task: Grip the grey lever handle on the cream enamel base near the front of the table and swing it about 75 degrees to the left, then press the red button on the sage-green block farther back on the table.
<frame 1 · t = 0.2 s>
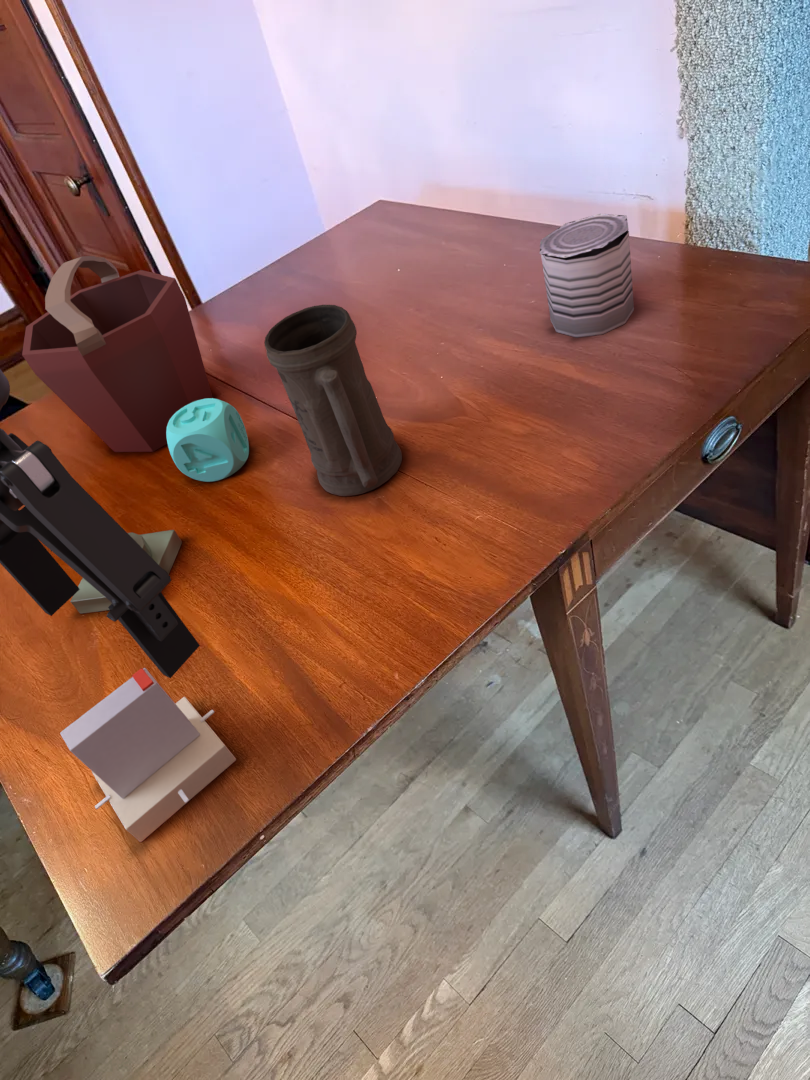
hand: (118, 628, 51), 21 cm above the table, tool pointing down, fingers open, 13 cm apart
button block: (132, 577, 89), on the table
tap base: (170, 772, 67), on the table
bucket: (157, 422, 115), on the table
button: (113, 550, 86), point 4 cm above the table, slide at 0.1 cm
beer stein: (369, 478, 90), on the table
decorative dice: (222, 464, 101), on the table
grey lever handle: (132, 732, 62), point 7 cm above the table, hinge at 0.0°
can: (591, 316, 103), on the table
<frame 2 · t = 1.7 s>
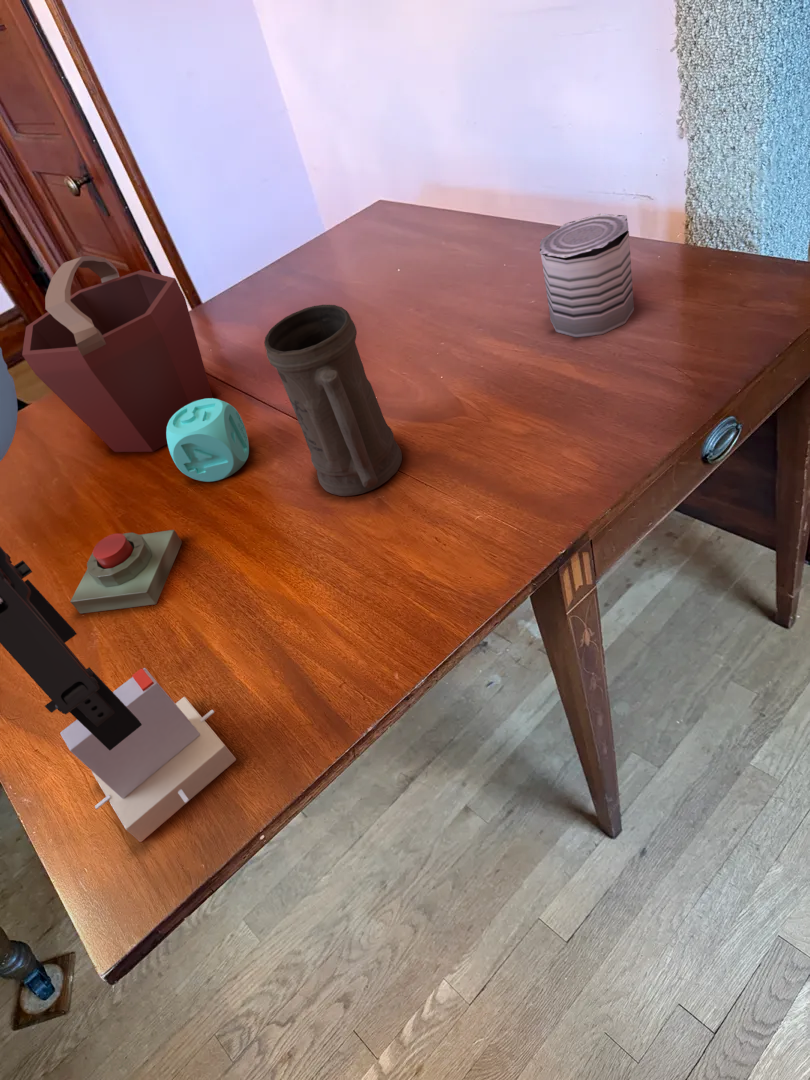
hand: (90, 685, 58), 13 cm above the table, tool pointing down, fingers open, 13 cm apart
nothing on the table moved.
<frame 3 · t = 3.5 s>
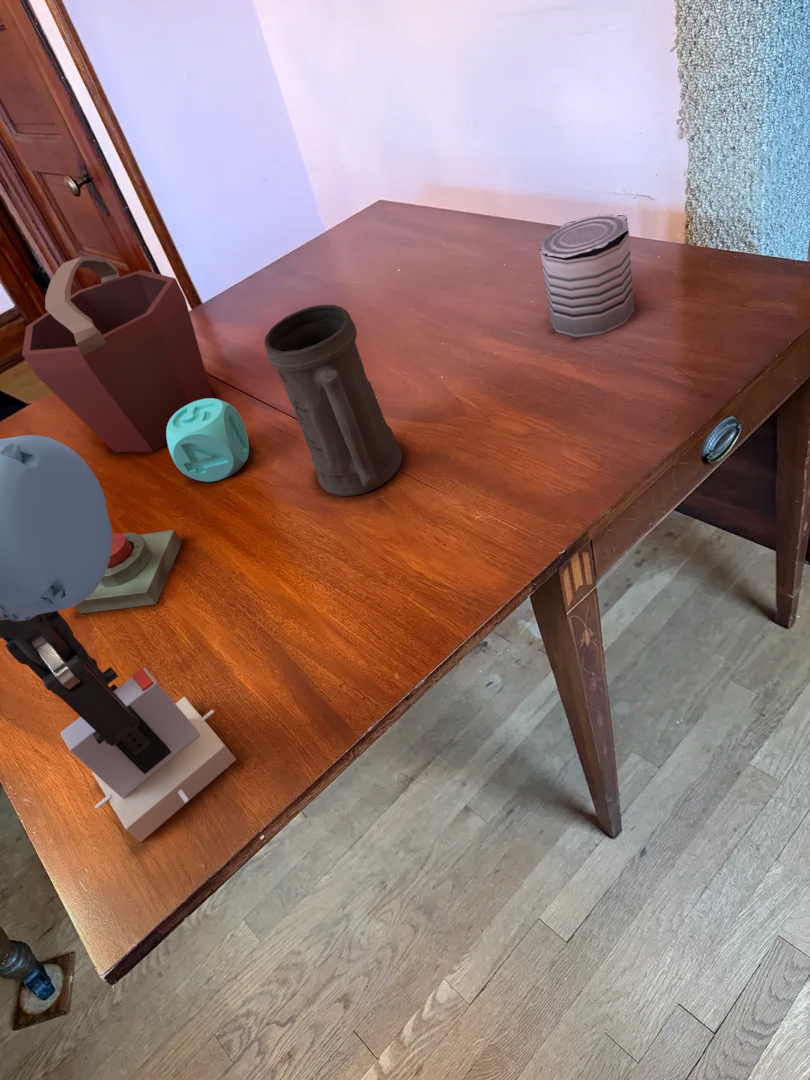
hand: (148, 749, 64), 4 cm above the table, tool pointing down, fingers closed on grey lever handle, 2 cm apart
grey lever handle: (132, 732, 62), point 7 cm above the table, hinge at 0.0°, touching gripper
everything else where it was.
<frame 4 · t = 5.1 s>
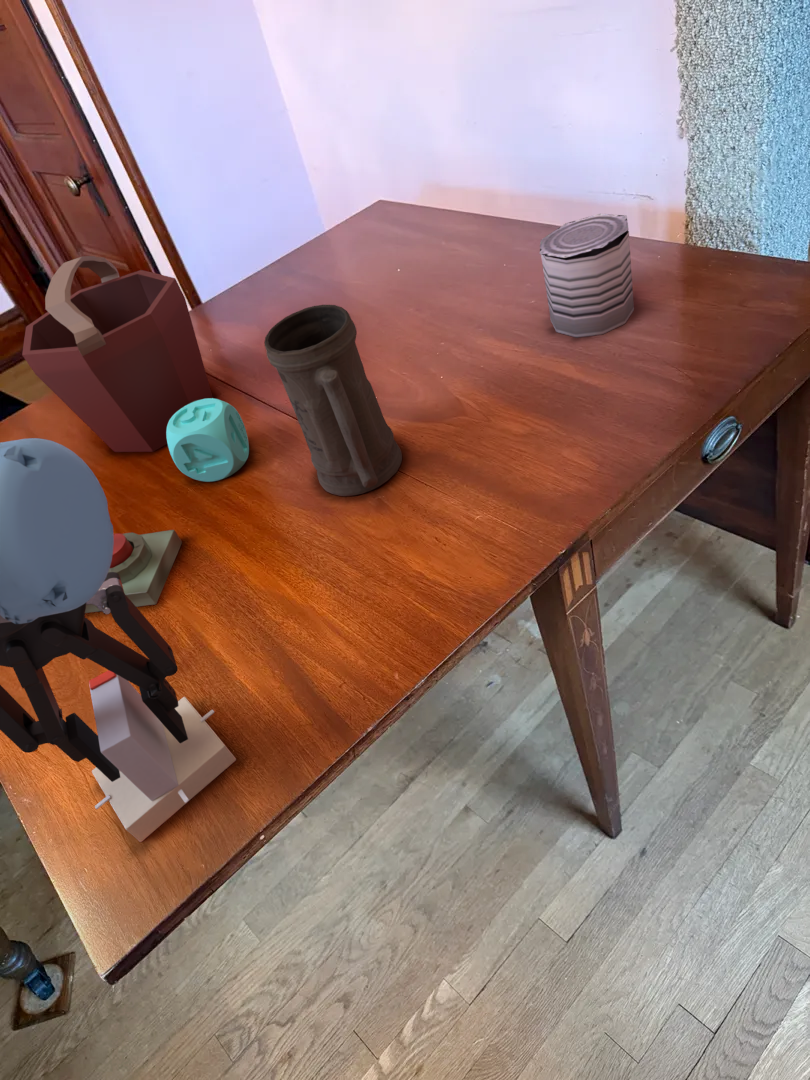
hand: (147, 748, 64), 4 cm above the table, tool pointing down, fingers open, 5 cm apart
grey lever handle: (132, 732, 62), point 7 cm above the table, hinge at 75.0°
everything else where it was.
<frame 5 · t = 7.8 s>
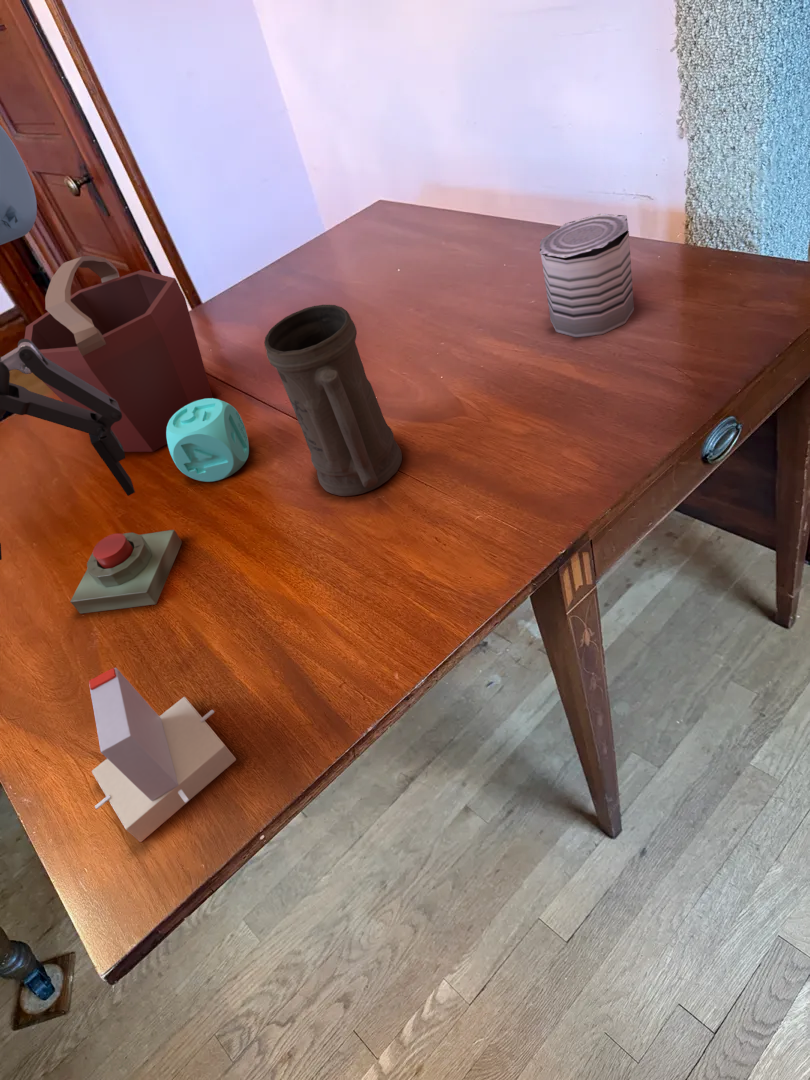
hand: (64, 520, 72), 16 cm above the table, tool pointing down, fingers open, 13 cm apart
nothing on the table moved.
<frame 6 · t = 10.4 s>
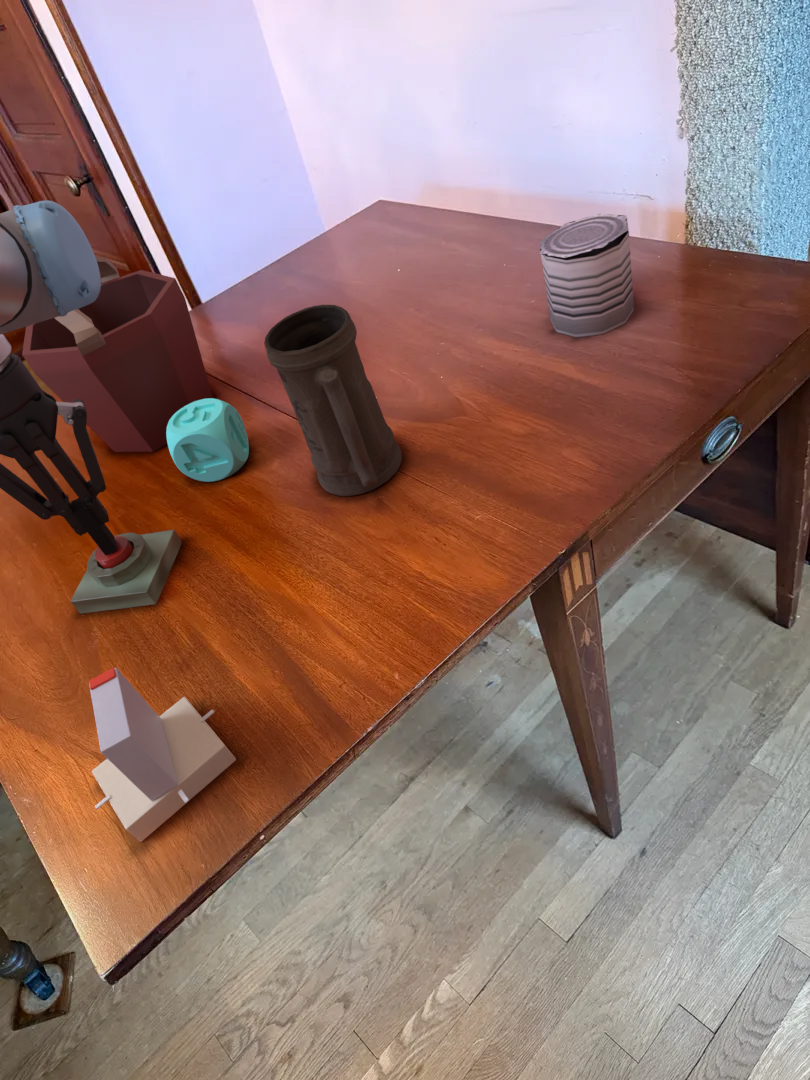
hand: (109, 546, 85), 5 cm above the table, tool pointing down, fingers closed
button: (115, 553, 86), point 4 cm above the table, slide at -0.3 cm, touching gripper
everything else where it was.
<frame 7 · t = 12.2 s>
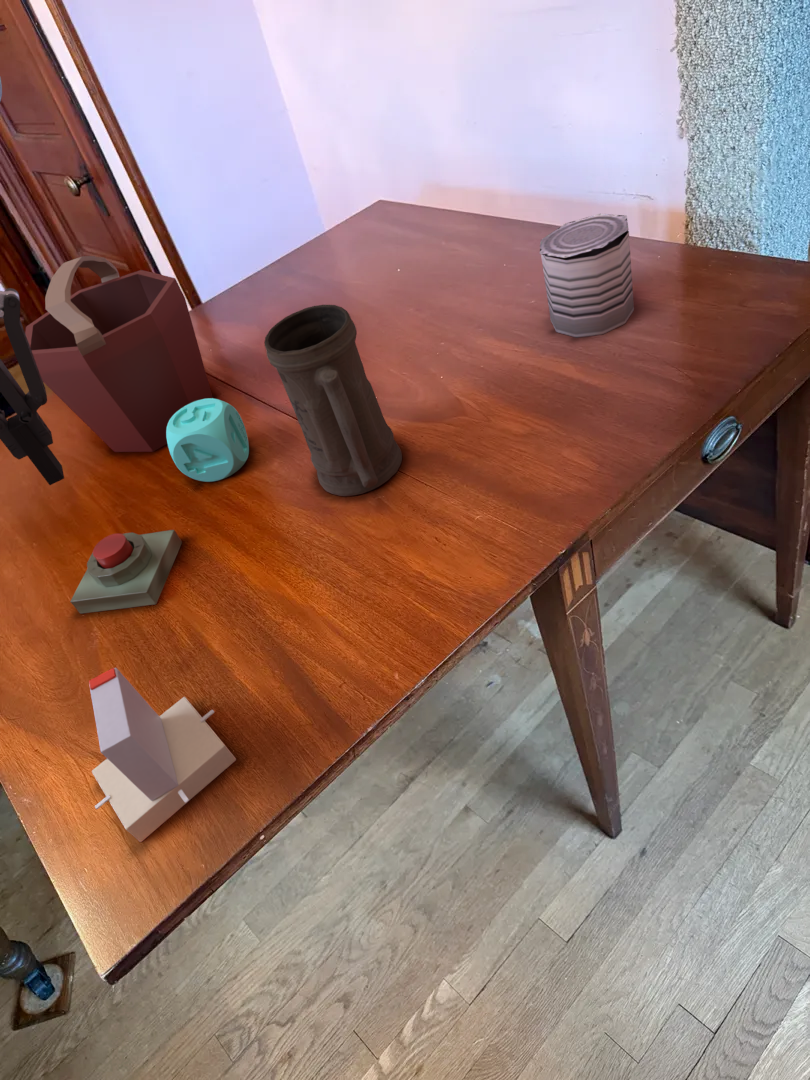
hand: (55, 475, 73), 18 cm above the table, tool pointing down, fingers closed
button: (113, 550, 86), point 4 cm above the table, slide at 0.1 cm
everything else where it was.
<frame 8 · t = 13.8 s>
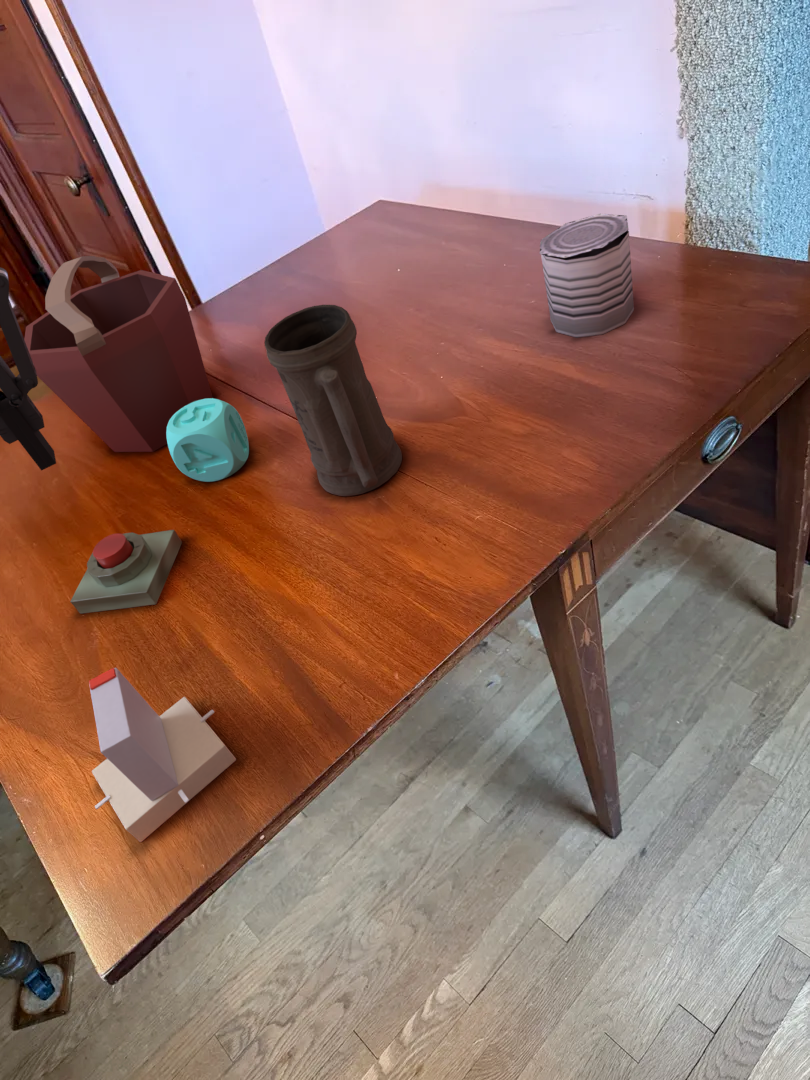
hand: (47, 460, 71), 20 cm above the table, tool pointing down, fingers closed
nothing on the table moved.
at the end: grey lever handle at +75° (first picture: +0°); button pushed in 1.0 cm at the most during the clip, back to where it started at the end; button slide at 0.1 cm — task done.
